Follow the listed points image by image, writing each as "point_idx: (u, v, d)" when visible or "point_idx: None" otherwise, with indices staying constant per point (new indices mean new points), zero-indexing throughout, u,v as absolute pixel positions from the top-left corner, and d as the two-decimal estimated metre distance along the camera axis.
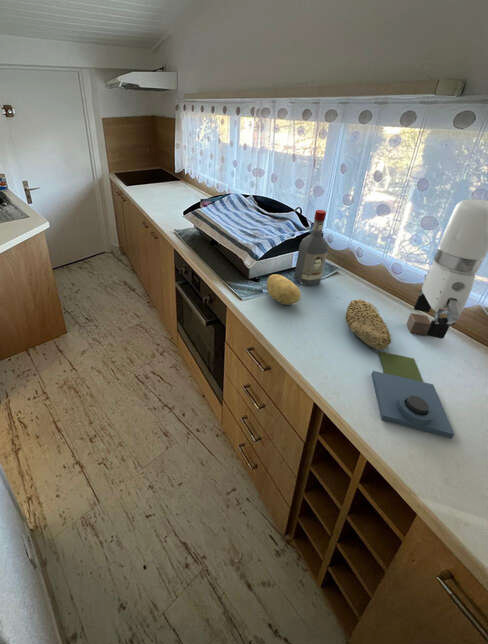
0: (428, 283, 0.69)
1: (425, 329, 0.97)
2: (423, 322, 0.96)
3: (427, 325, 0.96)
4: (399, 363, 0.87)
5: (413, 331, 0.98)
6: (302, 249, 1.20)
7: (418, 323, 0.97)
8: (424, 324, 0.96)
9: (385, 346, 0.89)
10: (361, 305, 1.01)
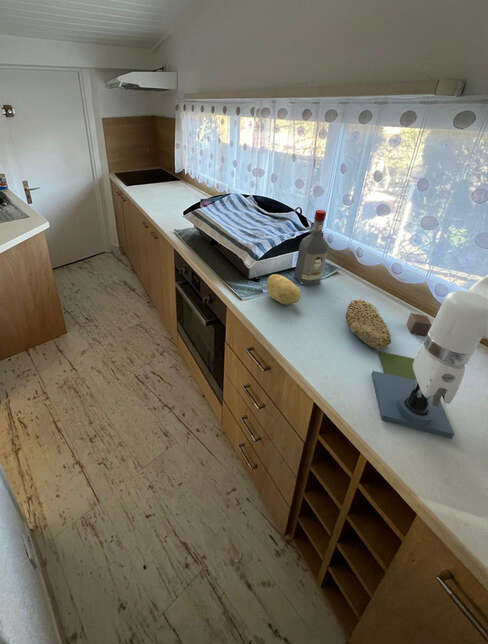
0: (418, 364, 0.68)
1: (425, 329, 0.97)
2: (423, 322, 0.96)
3: (427, 325, 0.96)
4: (399, 363, 0.87)
5: (413, 331, 0.98)
6: (302, 249, 1.20)
7: (418, 323, 0.97)
8: (424, 324, 0.96)
9: (385, 346, 0.89)
10: (361, 305, 1.01)
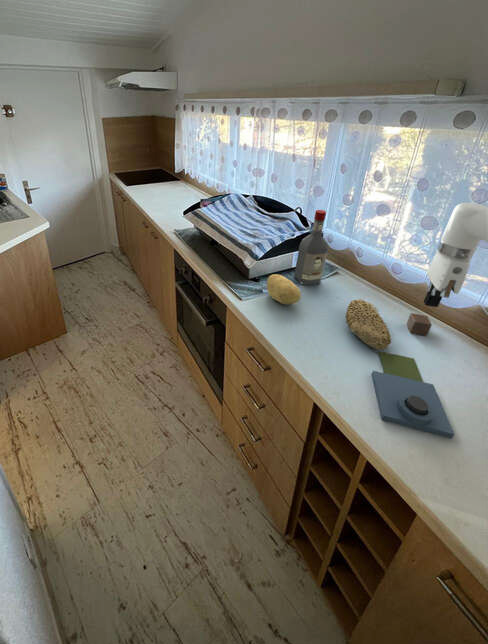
0: (432, 269, 0.87)
1: (425, 329, 0.97)
2: (423, 322, 0.96)
3: (427, 325, 0.96)
4: (399, 363, 0.87)
5: (413, 331, 0.98)
6: (302, 249, 1.20)
7: (418, 323, 0.97)
8: (424, 324, 0.96)
9: (385, 346, 0.89)
10: (361, 305, 1.01)
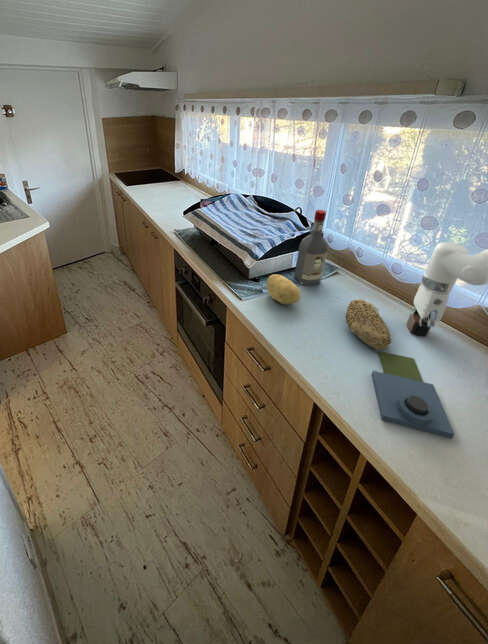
0: (418, 298, 0.97)
1: None
2: None
3: None
4: (399, 363, 0.87)
5: (413, 331, 0.98)
6: (302, 249, 1.20)
7: (418, 323, 0.97)
8: None
9: (385, 346, 0.89)
10: (361, 305, 1.01)
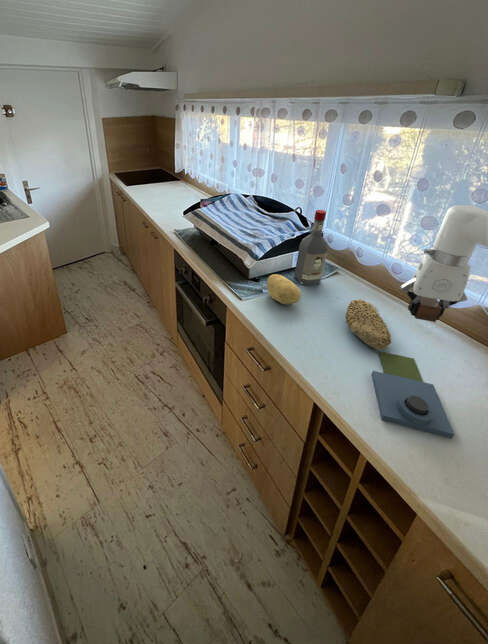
0: None
1: None
2: (421, 300, 0.82)
3: (419, 304, 0.81)
4: (399, 363, 0.87)
5: None
6: (302, 249, 1.20)
7: None
8: (418, 302, 0.82)
9: (385, 346, 0.89)
10: (361, 305, 1.01)
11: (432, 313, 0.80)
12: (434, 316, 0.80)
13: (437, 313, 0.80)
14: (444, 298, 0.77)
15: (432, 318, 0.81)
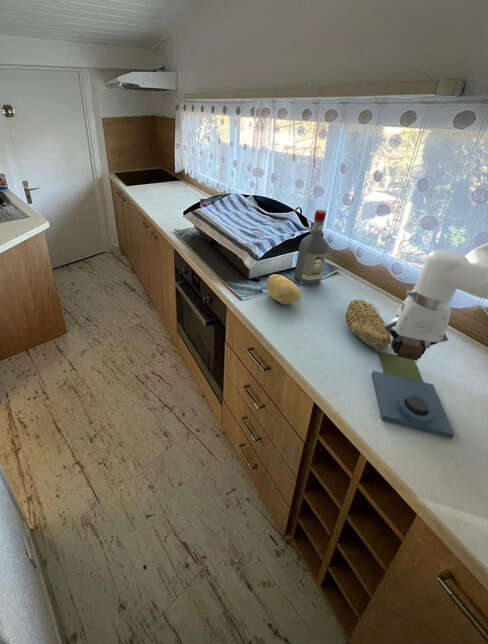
0: None
1: None
2: (403, 339, 0.82)
3: (401, 342, 0.82)
4: (399, 363, 0.87)
5: None
6: (302, 249, 1.20)
7: None
8: None
9: (385, 346, 0.89)
10: (361, 305, 1.01)
11: (414, 352, 0.81)
12: (416, 355, 0.81)
13: (419, 352, 0.80)
14: (425, 339, 0.77)
15: (414, 357, 0.81)
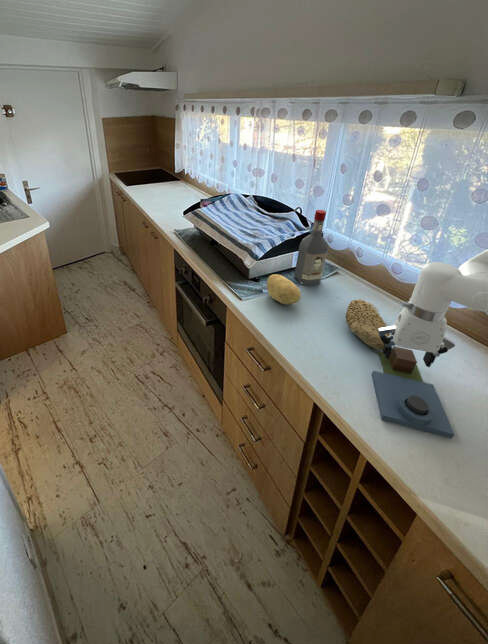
0: None
1: (394, 360, 0.85)
2: (397, 352, 0.85)
3: (395, 356, 0.84)
4: None
5: (390, 357, 0.88)
6: (302, 249, 1.20)
7: (394, 349, 0.86)
8: (395, 354, 0.85)
9: None
10: (361, 305, 1.01)
11: (408, 366, 0.83)
12: (410, 368, 0.83)
13: (413, 366, 0.83)
14: (423, 349, 0.79)
15: (408, 370, 0.84)
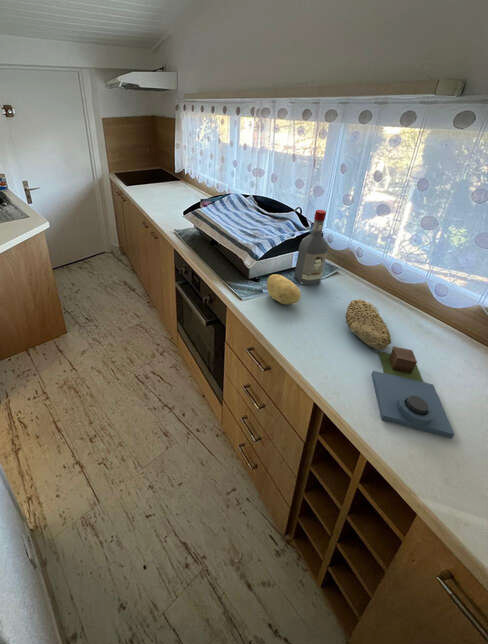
0: None
1: (394, 360, 0.85)
2: (397, 352, 0.85)
3: (395, 356, 0.84)
4: None
5: (390, 357, 0.88)
6: (302, 249, 1.20)
7: (394, 349, 0.86)
8: (395, 354, 0.85)
9: (385, 346, 0.89)
10: (361, 305, 1.01)
11: (408, 366, 0.83)
12: (410, 368, 0.83)
13: (413, 366, 0.83)
14: None
15: (408, 370, 0.84)
